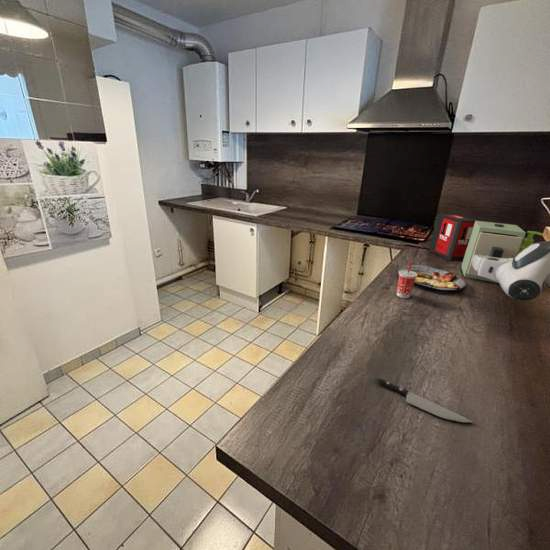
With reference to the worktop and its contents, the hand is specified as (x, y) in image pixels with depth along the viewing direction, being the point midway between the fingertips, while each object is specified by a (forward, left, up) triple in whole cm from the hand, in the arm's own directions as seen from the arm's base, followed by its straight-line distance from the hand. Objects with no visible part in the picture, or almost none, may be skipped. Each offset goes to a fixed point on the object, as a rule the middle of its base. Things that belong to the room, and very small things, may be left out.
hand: (502, 259), depth 107 cm
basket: (0, -17, -12) cm, 21 cm away
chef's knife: (+23, +73, -14) cm, 77 cm away
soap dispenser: (-14, -28, -14) cm, 34 cm away
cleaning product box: (+13, -43, -14) cm, 47 cm away
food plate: (+21, 0, -14) cm, 25 cm away
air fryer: (0, -20, -14) cm, 25 cm away
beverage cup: (+30, +20, -14) cm, 39 cm away
